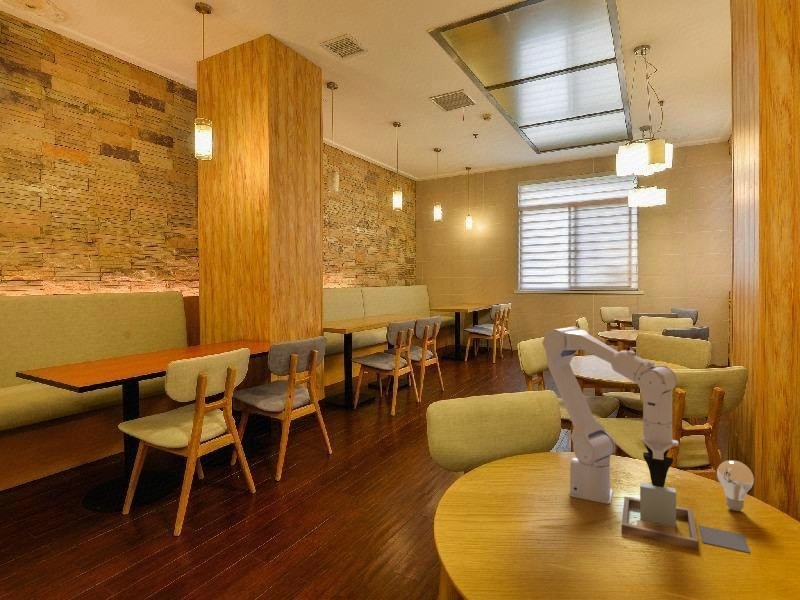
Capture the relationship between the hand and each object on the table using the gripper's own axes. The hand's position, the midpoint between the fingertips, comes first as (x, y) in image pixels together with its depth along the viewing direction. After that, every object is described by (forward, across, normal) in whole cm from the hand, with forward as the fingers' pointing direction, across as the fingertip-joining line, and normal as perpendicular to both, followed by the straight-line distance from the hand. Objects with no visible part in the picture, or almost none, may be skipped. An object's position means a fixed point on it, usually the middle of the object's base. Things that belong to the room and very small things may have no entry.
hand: (657, 478), depth 101 cm
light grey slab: (+10, 0, 0) cm, 10 cm away
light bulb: (+10, +13, -16) cm, 23 cm away
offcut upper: (+10, -5, 0) cm, 11 cm away
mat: (+10, -2, -12) cm, 16 cm away
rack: (+10, -2, 0) cm, 10 cm away
